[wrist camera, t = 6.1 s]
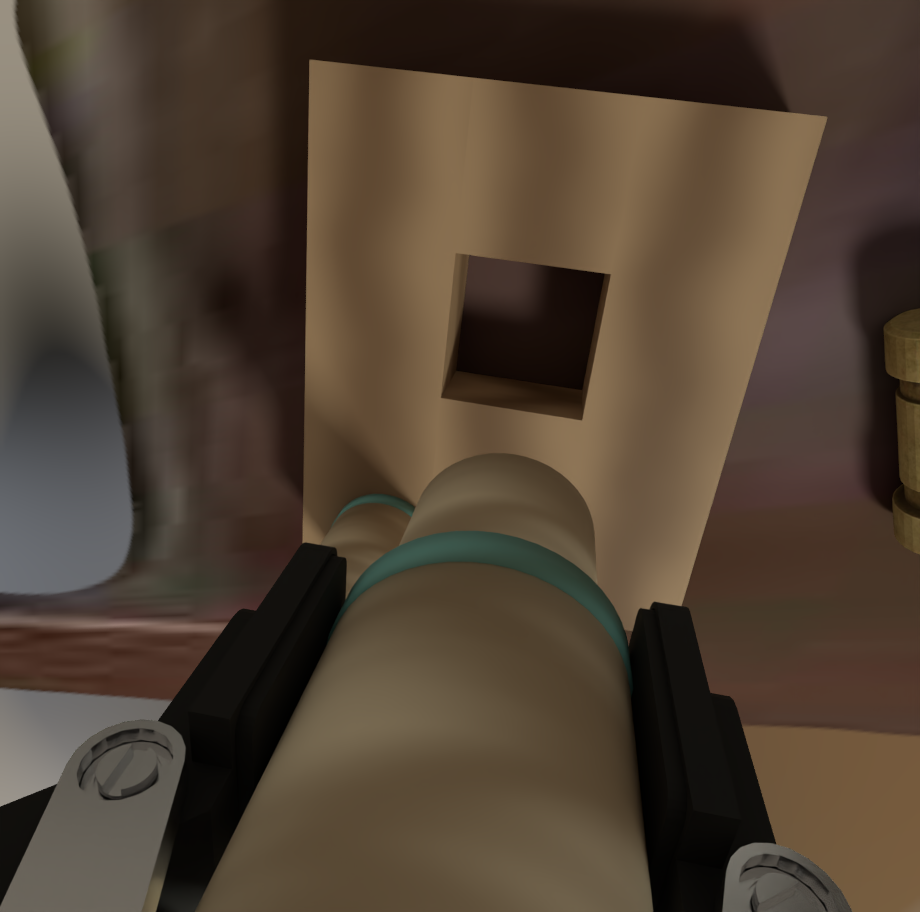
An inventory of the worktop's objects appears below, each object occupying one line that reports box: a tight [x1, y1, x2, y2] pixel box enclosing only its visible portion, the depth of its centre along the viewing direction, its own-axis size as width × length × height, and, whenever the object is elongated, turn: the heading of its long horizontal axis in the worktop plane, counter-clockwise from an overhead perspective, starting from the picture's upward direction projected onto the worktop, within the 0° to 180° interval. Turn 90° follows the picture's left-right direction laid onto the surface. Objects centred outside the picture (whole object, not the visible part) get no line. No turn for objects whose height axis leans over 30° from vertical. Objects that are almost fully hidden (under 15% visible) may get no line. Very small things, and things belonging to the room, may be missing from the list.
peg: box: [195, 453, 653, 912], centre depth 10 cm, size 5×5×12 cm
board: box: [303, 60, 827, 631], centre depth 27 cm, size 18×22×12 cm
